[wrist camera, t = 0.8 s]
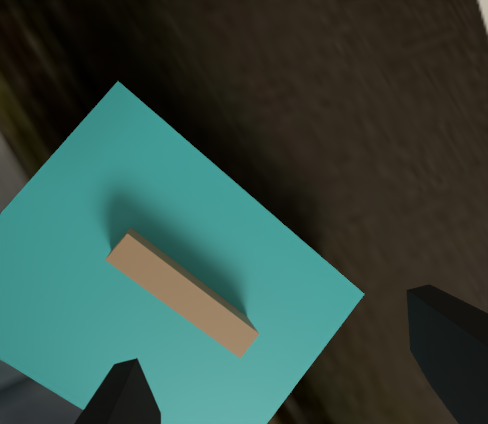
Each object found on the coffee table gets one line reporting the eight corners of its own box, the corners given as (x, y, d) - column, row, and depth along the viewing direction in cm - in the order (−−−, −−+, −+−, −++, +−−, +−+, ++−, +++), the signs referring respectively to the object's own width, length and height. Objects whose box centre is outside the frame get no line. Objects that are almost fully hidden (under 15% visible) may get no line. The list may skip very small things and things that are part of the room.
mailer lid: (214, 483, 22) (223, 530, 19) (-76, 304, 18) (-122, 328, 15) (359, 291, 23) (389, 307, 20) (119, 84, 19) (113, 65, 16)
